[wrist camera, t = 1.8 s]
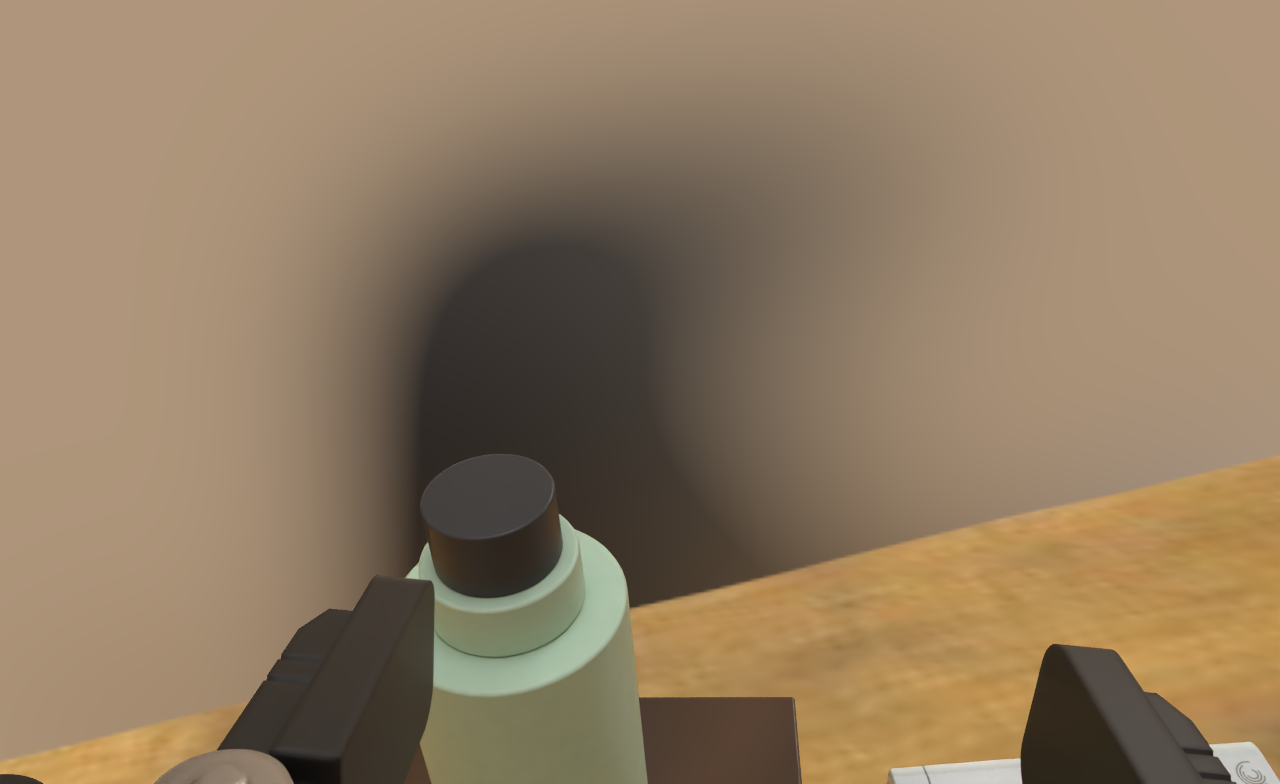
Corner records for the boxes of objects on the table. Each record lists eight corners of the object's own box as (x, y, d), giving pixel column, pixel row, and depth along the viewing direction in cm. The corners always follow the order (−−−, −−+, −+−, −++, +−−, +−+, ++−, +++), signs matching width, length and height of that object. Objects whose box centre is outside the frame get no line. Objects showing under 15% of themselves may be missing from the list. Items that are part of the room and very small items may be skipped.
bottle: (662, 809, 27) (625, 416, 20) (654, 991, 23) (605, 583, 16) (489, 807, 27) (394, 421, 20) (453, 987, 23) (321, 587, 17)
